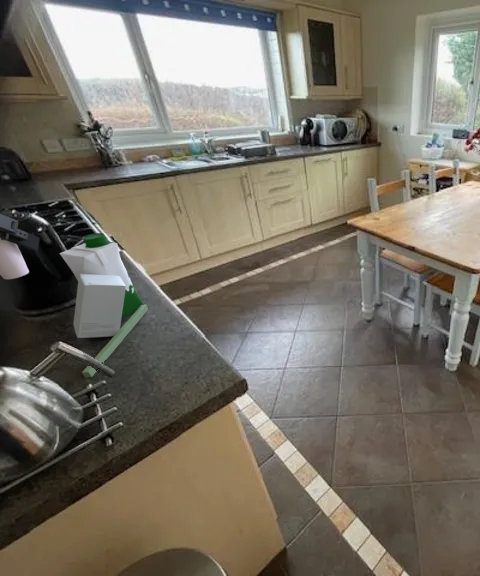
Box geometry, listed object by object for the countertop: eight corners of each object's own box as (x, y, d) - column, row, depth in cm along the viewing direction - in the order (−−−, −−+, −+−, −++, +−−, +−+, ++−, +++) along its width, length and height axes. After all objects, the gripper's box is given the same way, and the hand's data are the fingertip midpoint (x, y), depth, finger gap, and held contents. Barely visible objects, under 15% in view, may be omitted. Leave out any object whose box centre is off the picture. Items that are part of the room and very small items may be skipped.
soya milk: (150, 304, 88) (117, 234, 77) (118, 324, 80) (77, 249, 70) (125, 299, 90) (90, 230, 79) (91, 318, 82) (48, 245, 72)
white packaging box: (119, 336, 76) (127, 286, 74) (76, 338, 71) (82, 284, 68) (113, 322, 81) (120, 275, 78) (72, 324, 75) (78, 272, 73)
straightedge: (85, 378, 65) (81, 372, 64) (143, 309, 86) (141, 304, 85) (91, 377, 65) (88, 371, 65) (148, 309, 86) (146, 304, 85)
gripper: (-254, 211, 42) (-42, 266, 64) (-79, 202, 44) (67, 259, 66) (-234, 159, 43) (-34, 231, 66) (-67, 153, 45) (71, 225, 68)
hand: (16, 245), depth 66 cm, fingers closed on smoothie, 6 cm apart
